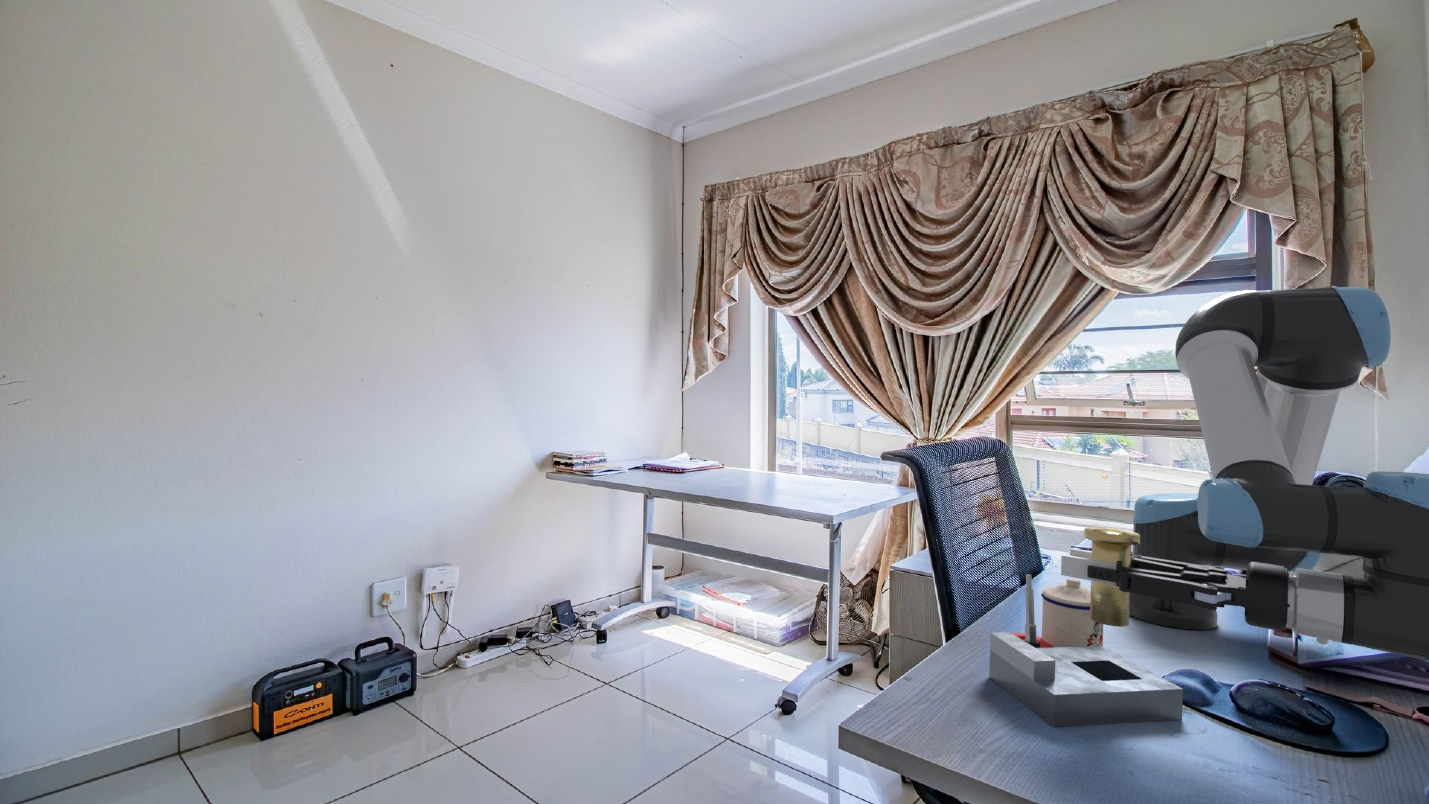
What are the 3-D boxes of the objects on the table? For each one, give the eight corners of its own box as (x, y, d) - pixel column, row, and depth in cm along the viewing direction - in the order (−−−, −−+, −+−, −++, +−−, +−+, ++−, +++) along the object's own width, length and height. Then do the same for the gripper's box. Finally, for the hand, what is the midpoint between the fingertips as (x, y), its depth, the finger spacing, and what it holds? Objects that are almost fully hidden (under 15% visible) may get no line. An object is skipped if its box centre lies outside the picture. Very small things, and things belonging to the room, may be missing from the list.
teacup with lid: (1101, 668, 97) (1103, 591, 97) (1035, 652, 102) (1037, 580, 102) (1108, 644, 107) (1110, 574, 107) (1047, 631, 112) (1049, 565, 112)
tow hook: (988, 638, 109) (1004, 659, 99) (986, 562, 109) (1001, 575, 100) (1041, 640, 107) (1062, 661, 98) (1038, 563, 108) (1059, 576, 99)
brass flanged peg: (1112, 611, 90) (1114, 527, 90) (1149, 628, 84) (1152, 537, 84) (1071, 613, 89) (1073, 527, 89) (1105, 629, 83) (1108, 537, 83)
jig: (1100, 672, 95) (1102, 629, 95) (1182, 720, 82) (1183, 669, 81) (989, 677, 93) (990, 632, 93) (1053, 726, 79) (1055, 674, 79)
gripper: (1289, 653, 68) (1048, 602, 83) (1287, 613, 81) (1080, 575, 96) (1291, 583, 68) (1050, 544, 83) (1289, 554, 81) (1081, 526, 96)
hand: (1067, 561), depth 90 cm, fingers closed on brass flanged peg, 4 cm apart
